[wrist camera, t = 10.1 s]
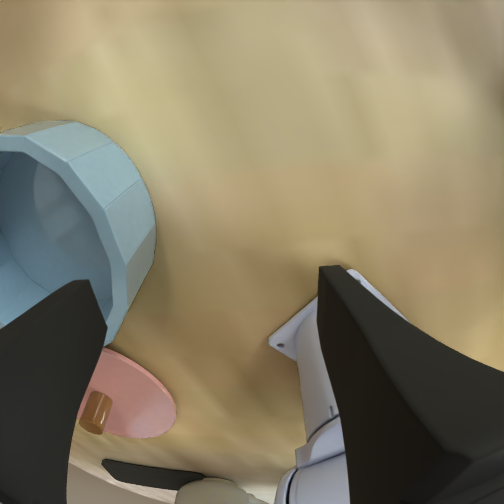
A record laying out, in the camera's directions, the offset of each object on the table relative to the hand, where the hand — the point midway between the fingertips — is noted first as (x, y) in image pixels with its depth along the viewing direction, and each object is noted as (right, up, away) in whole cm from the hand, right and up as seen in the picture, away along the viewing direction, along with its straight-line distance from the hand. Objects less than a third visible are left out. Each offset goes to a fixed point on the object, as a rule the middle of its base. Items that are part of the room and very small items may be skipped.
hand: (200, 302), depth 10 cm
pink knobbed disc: (-13, -12, +16) cm, 24 cm away
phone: (-12, -31, +27) cm, 43 cm away
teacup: (-3, -31, +27) cm, 41 cm away
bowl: (-11, +3, +9) cm, 15 cm away
